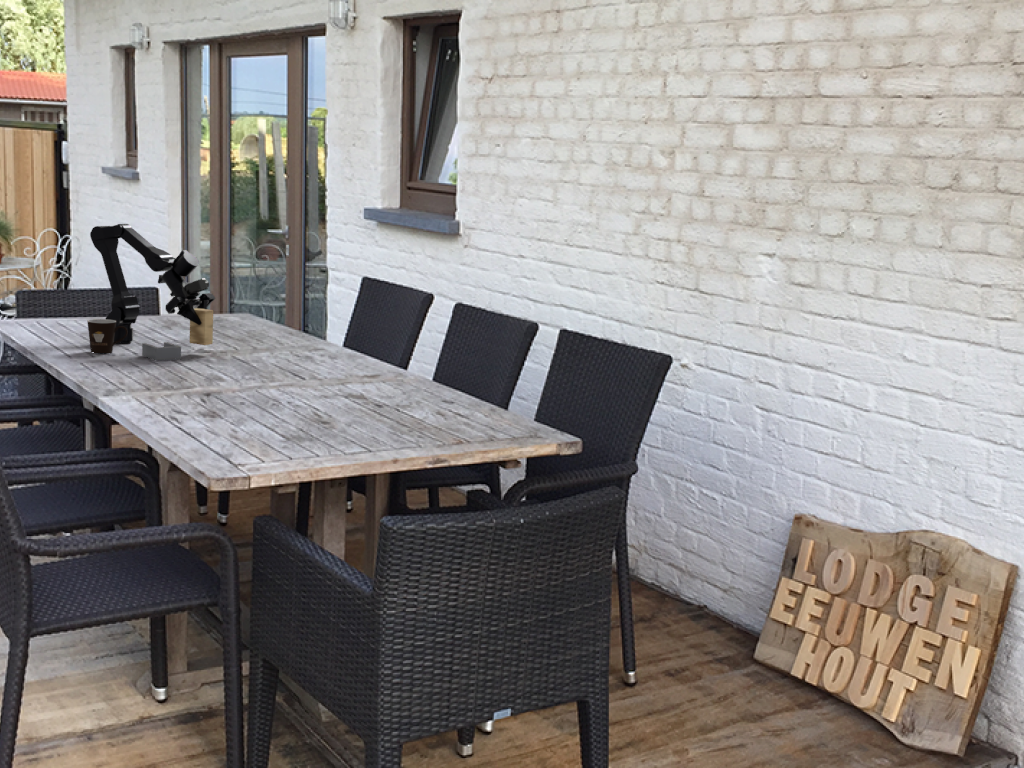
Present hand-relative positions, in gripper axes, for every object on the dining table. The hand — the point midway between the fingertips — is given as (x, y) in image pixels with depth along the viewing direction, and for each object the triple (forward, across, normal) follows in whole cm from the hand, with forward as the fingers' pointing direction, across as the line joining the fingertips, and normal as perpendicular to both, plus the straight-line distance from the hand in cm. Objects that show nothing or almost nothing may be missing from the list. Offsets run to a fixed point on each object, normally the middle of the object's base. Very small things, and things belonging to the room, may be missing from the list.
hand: (204, 323), depth 387 cm
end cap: (+2, -13, +12) cm, 18 cm away
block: (+4, 0, +6) cm, 7 cm away
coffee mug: (-9, -19, +24) cm, 32 cm away
